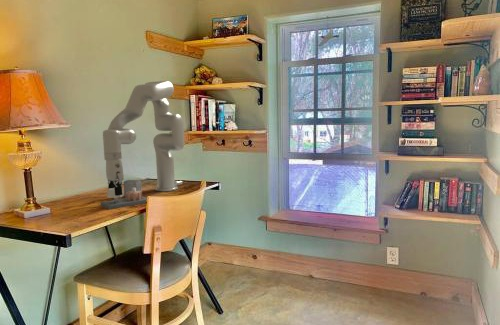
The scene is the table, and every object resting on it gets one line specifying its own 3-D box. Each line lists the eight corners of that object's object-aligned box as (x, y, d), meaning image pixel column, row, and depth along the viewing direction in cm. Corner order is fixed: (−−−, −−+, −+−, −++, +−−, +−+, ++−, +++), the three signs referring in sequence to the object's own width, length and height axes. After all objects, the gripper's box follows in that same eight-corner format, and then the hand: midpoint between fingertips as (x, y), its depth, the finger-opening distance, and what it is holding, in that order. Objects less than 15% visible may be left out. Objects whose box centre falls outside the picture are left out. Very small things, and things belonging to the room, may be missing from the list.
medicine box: (142, 196, 196) (141, 180, 195) (137, 198, 192) (136, 181, 191) (129, 195, 199) (128, 179, 198) (124, 197, 195) (123, 181, 193)
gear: (120, 194, 182) (119, 187, 182) (126, 196, 176) (125, 188, 176) (105, 196, 177) (104, 189, 177) (110, 198, 172) (110, 191, 171)
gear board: (140, 198, 191) (139, 185, 190) (150, 202, 183) (149, 187, 182) (100, 205, 178) (99, 190, 177) (108, 209, 170) (107, 194, 169)
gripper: (128, 156, 170) (130, 195, 173) (114, 154, 184) (116, 190, 186) (111, 158, 166) (114, 198, 168) (98, 155, 179) (100, 192, 181)
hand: (115, 193), depth 177 cm, fingers closed on gear, 7 cm apart
